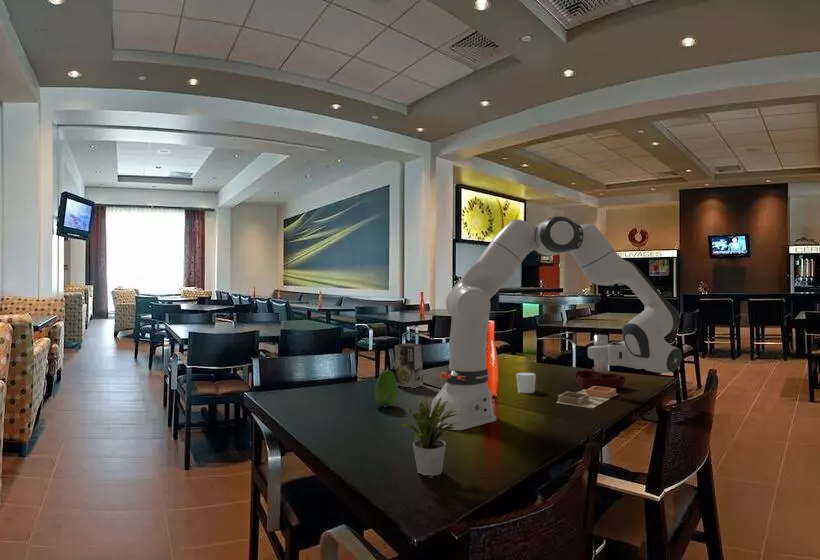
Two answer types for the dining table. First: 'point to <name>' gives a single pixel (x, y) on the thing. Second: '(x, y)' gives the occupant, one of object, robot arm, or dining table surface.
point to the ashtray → (598, 379)
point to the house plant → (430, 437)
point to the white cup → (526, 382)
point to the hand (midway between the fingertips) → (599, 348)
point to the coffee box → (409, 364)
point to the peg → (600, 341)
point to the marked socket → (601, 392)
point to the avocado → (386, 389)
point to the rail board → (581, 399)
